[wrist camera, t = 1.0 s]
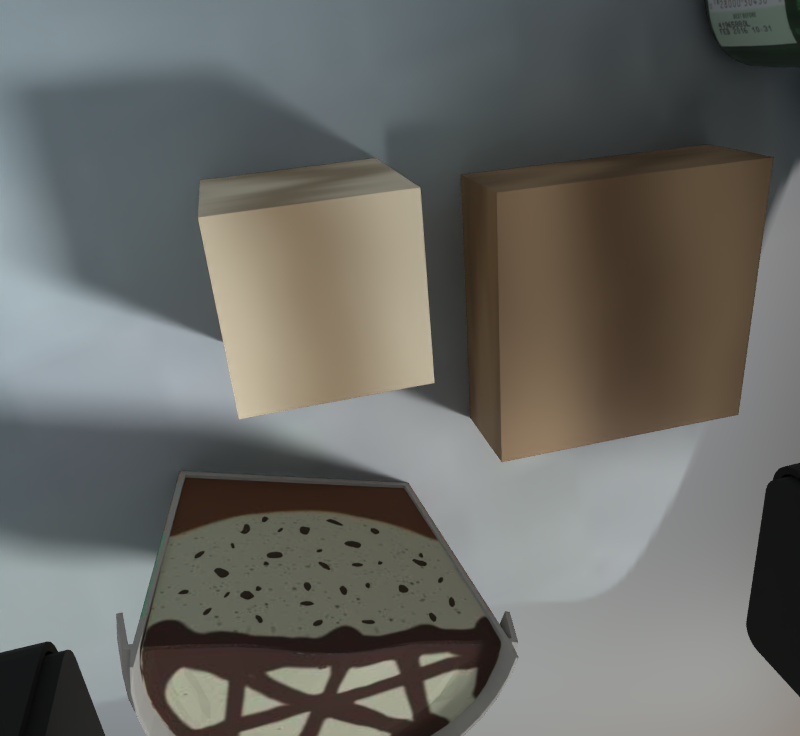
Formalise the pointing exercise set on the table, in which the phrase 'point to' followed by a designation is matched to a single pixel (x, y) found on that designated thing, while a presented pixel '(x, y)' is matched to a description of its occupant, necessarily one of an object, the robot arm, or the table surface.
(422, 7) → the table surface
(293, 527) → the food container
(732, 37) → the coffee jar
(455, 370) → the table surface
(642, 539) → the table surface
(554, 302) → the pedestal
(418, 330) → the beech cube
